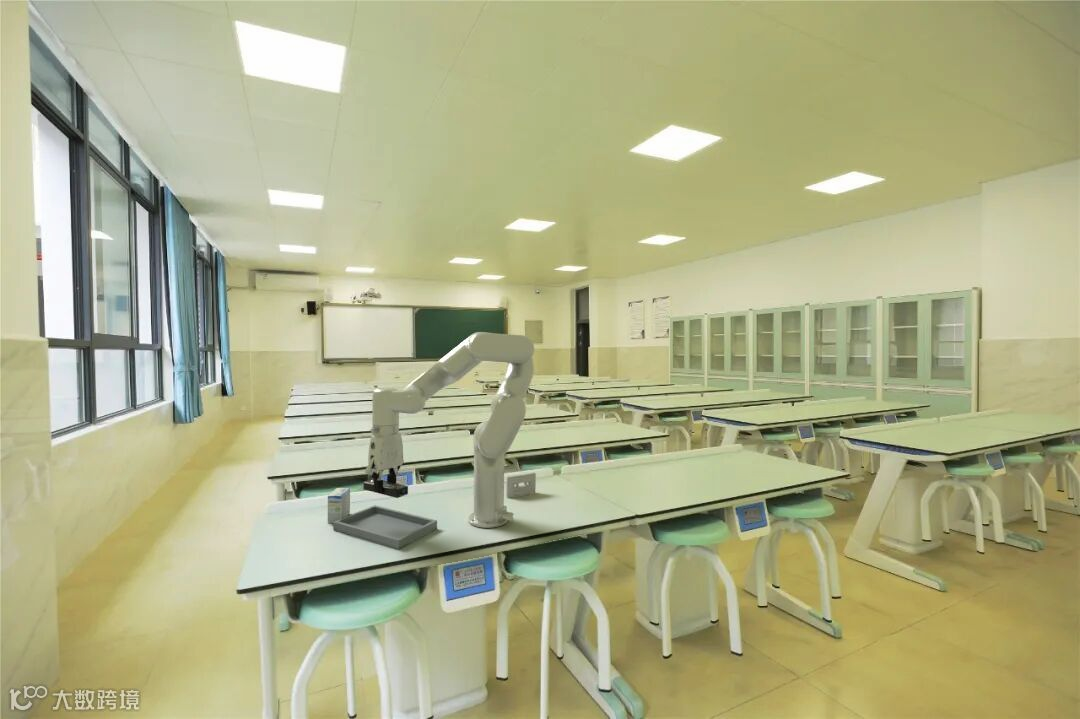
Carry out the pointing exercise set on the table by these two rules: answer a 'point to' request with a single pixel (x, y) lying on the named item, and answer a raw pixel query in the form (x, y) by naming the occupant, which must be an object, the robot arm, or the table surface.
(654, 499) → the table surface
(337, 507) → the medicine box
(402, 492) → the multiport hub
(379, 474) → the robot arm
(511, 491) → the cassette
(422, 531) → the tray
